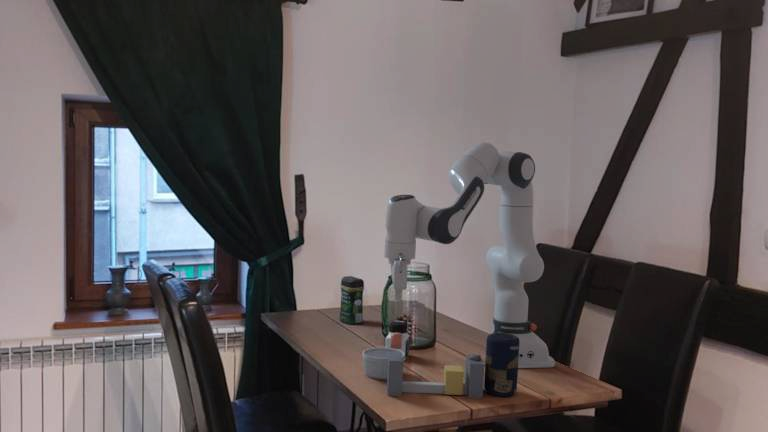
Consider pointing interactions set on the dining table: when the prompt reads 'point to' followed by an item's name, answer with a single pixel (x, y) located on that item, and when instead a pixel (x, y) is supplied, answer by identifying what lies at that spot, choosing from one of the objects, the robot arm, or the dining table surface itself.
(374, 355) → the ramekin
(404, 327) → the medicine bottle
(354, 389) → the dining table surface
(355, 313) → the coffee jar
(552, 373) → the dining table surface
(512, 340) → the canister
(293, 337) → the dining table surface
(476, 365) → the rail assembly
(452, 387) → the block
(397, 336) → the gauge button
